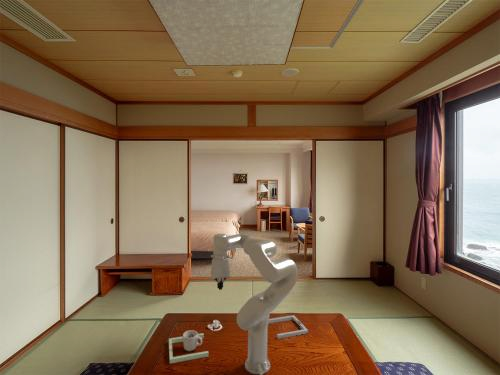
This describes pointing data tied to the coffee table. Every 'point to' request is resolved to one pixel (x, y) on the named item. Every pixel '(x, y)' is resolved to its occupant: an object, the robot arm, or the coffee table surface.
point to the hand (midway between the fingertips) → (220, 288)
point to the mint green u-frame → (185, 357)
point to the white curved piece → (215, 325)
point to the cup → (191, 340)
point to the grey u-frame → (293, 333)
